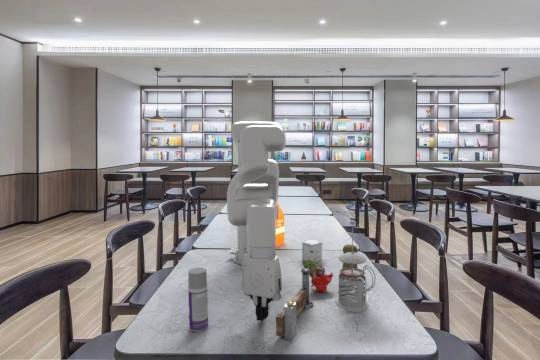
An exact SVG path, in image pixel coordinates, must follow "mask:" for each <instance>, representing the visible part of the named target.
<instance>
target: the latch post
mask: <svg viewBox="0 0 540 360" xmlns="http://www.w3.org/2000/svg"><path fill="white" fill-rule="evenodd" d="M283 309H284V335H283V336H284V338H283V339H285V340H288V341H293V340H294V339H295V337H296V335H297V317H296V303H294V302H293V301H291V300H287V302H286V304H285V305H284V307H283Z"/></svg>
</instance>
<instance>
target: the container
mask: <svg viewBox="0 0 540 360" xmlns="http://www.w3.org/2000/svg"><path fill="white" fill-rule="evenodd" d="M187 279H188V281H187V282H188V284H187V285H188V286H187V287H188V290H187V292H188V320H189V322H188V323H189V330H190V331H191V332H193V331H194V332H193V333H201V332H200V331H202V332H204V331H206V330H207V329H208V328H209V310H208V307H209V306H208V305H209V302H208V298H209V297H208V280H207V279H208V278H207V269H206V268H205V267H193V268H190V269H188V277H187Z"/></svg>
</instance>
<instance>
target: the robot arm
mask: <svg viewBox="0 0 540 360" xmlns="http://www.w3.org/2000/svg"><path fill="white" fill-rule="evenodd" d="M230 134H231V138H232V141H233V142H234V144H235V147H236V149H237V172H236V174H235V175H233V177H232V179H231V180H230V182H229V184H228V187H227V192H226V212H227V213H226V214H227V220H228V222H229V223H230V225H232V226H235V227H237V229H236V231H237V233H236V234H237V248H235V247H231V248H230V251H229V254H230V255H235V256H234V258H233V261H234V263H236V264H237V265H240V266H241V271H240V272H241V273H240V290H241V292H242V293H243V294H244V295H245V296H247V297H249V298H250V299H251V300H252V302H253V305H254V306H255V315H256V321H260V322H264V321H265V320H266V319H267V318H268V316H269V304H270V303H272V302H279V301H280V300H281V299H282V294H281V292H282V288H283V286H282V282H283V281H282V270H281V264H280V259H279V255H277V247H276V219H278V214H279V210H278V204H279V203H278V201H279V184H280V168H279V164H278V162H277V161H276V160H274V159H270V158H269V152H274V153H275V152H283V150H284V149H285V147H286V145H287V144H286V143H287V142H286V141H287V138H286V133H285V130H284V127H283V126H282V125H281V124H280V123H278V122H276V121H236V122H233V123H232V125H231V126H230ZM276 203H278V204H276Z"/></svg>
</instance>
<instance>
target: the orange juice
mask: <svg viewBox="0 0 540 360" xmlns="http://www.w3.org/2000/svg"><path fill="white" fill-rule="evenodd" d="M276 204H278V210H279V214H278V219H276V248H277V247H279V246H282V245H284V244H285V213H284V211H283V209H282V208H281V206H280V204H279V203H278V202H277V203H276Z"/></svg>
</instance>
